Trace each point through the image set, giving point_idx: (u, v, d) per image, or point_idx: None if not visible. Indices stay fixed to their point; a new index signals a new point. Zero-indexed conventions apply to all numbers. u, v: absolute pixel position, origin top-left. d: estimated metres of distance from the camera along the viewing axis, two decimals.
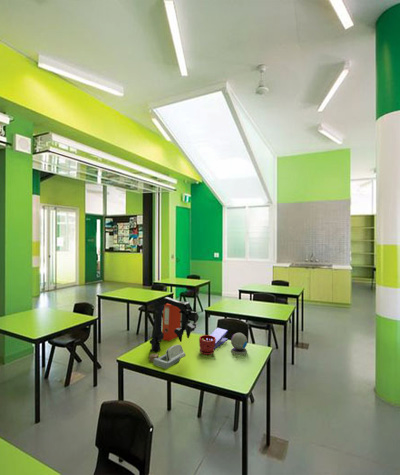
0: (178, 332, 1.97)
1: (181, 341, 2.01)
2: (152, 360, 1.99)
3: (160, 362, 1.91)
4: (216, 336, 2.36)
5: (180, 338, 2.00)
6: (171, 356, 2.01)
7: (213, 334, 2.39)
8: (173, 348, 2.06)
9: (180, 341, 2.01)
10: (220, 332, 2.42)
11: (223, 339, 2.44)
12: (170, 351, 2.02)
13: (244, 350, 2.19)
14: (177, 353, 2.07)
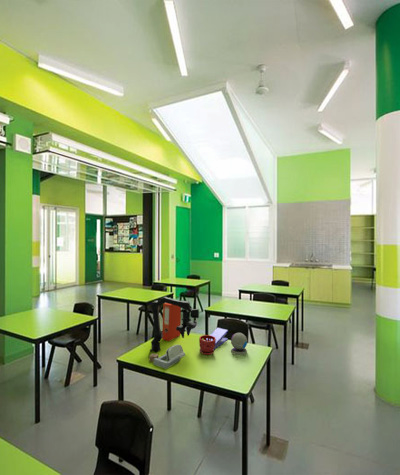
0: (180, 329, 2.09)
1: (183, 337, 2.14)
2: (152, 360, 1.99)
3: (160, 362, 1.91)
4: (216, 336, 2.36)
5: (182, 335, 2.13)
6: (171, 356, 2.01)
7: (213, 334, 2.40)
8: (173, 348, 2.06)
9: (182, 337, 2.14)
10: (220, 332, 2.42)
11: (223, 339, 2.44)
12: (170, 351, 2.02)
13: (244, 350, 2.19)
14: (177, 353, 2.07)
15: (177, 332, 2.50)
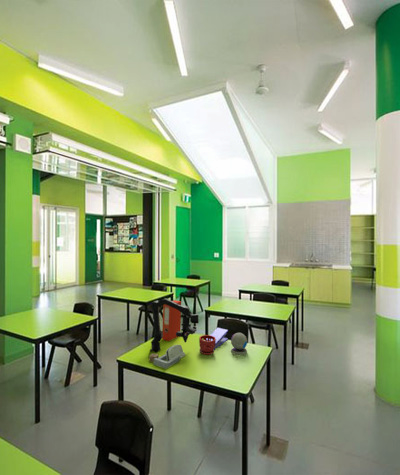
0: (179, 335, 2.09)
1: (185, 342, 2.17)
2: (152, 360, 1.99)
3: (160, 362, 1.91)
4: (216, 336, 2.36)
5: (185, 339, 2.16)
6: (171, 356, 2.01)
7: (213, 334, 2.40)
8: (173, 348, 2.06)
9: (185, 342, 2.17)
10: (220, 332, 2.42)
11: (223, 339, 2.44)
12: (170, 351, 2.02)
13: (244, 350, 2.19)
14: (177, 353, 2.07)
15: None
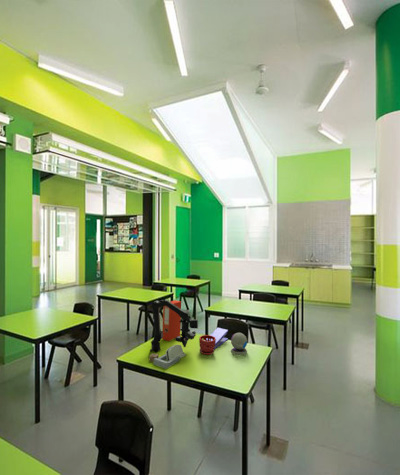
0: (179, 340, 2.08)
1: None
2: (152, 360, 1.99)
3: (160, 362, 1.91)
4: (216, 336, 2.36)
5: (184, 344, 2.15)
6: (171, 356, 2.01)
7: (213, 334, 2.40)
8: (173, 348, 2.06)
9: None
10: (220, 332, 2.42)
11: (223, 339, 2.44)
12: (170, 351, 2.02)
13: (244, 350, 2.19)
14: (177, 353, 2.07)
15: (177, 332, 2.50)
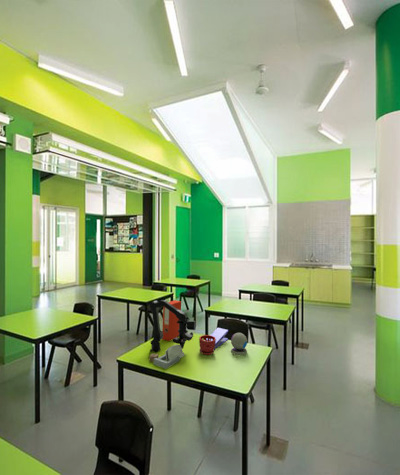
0: (176, 341, 2.05)
1: (182, 348, 2.14)
2: (152, 360, 1.99)
3: (160, 362, 1.91)
4: (216, 336, 2.36)
5: (181, 345, 2.13)
6: (171, 356, 2.00)
7: (213, 334, 2.40)
8: (173, 348, 2.05)
9: None
10: (220, 332, 2.42)
11: (223, 339, 2.45)
12: (170, 351, 2.01)
13: (244, 350, 2.19)
14: (176, 353, 2.06)
15: (177, 332, 2.50)
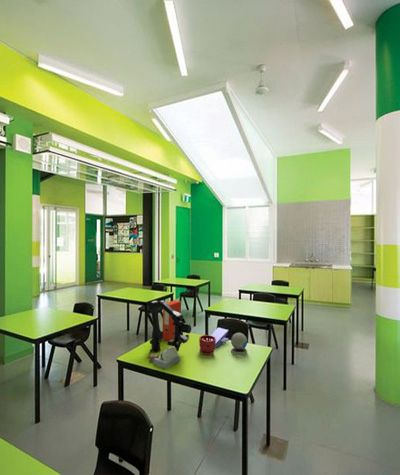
0: (171, 344, 2.00)
1: (178, 350, 2.08)
2: (152, 360, 1.99)
3: (160, 362, 1.91)
4: (217, 336, 2.37)
5: (177, 348, 2.08)
6: (165, 359, 1.95)
7: (214, 334, 2.40)
8: (168, 350, 2.00)
9: (177, 350, 2.08)
10: (221, 332, 2.42)
11: (224, 339, 2.45)
12: (164, 354, 1.96)
13: (244, 350, 2.19)
14: (171, 356, 2.01)
15: None
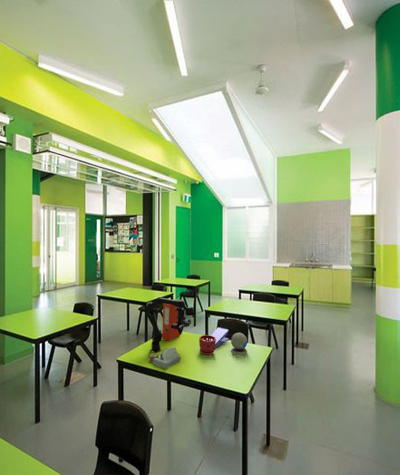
0: (174, 327, 2.14)
1: (180, 334, 2.22)
2: (152, 360, 1.99)
3: (160, 362, 1.91)
4: (217, 336, 2.37)
5: (180, 331, 2.21)
6: (165, 359, 1.95)
7: (214, 334, 2.40)
8: (168, 351, 2.00)
9: (180, 334, 2.22)
10: (221, 332, 2.42)
11: (224, 339, 2.45)
12: (164, 354, 1.96)
13: (244, 350, 2.19)
14: (171, 356, 2.01)
15: (177, 332, 2.50)
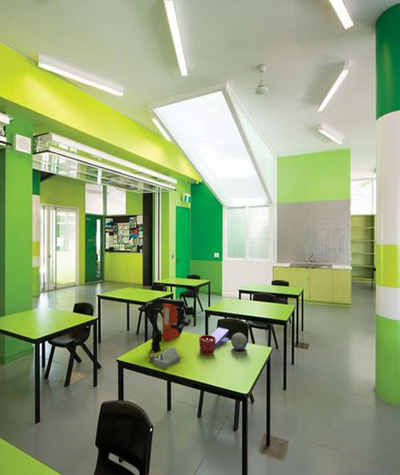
0: (174, 327, 2.15)
1: (180, 334, 2.23)
2: (152, 360, 1.99)
3: (160, 362, 1.91)
4: (217, 336, 2.37)
5: (179, 331, 2.22)
6: (165, 360, 1.95)
7: (214, 334, 2.40)
8: (168, 351, 2.00)
9: None
10: (221, 332, 2.42)
11: (224, 339, 2.45)
12: (164, 354, 1.96)
13: (244, 350, 2.19)
14: (171, 356, 2.01)
15: (177, 332, 2.50)
